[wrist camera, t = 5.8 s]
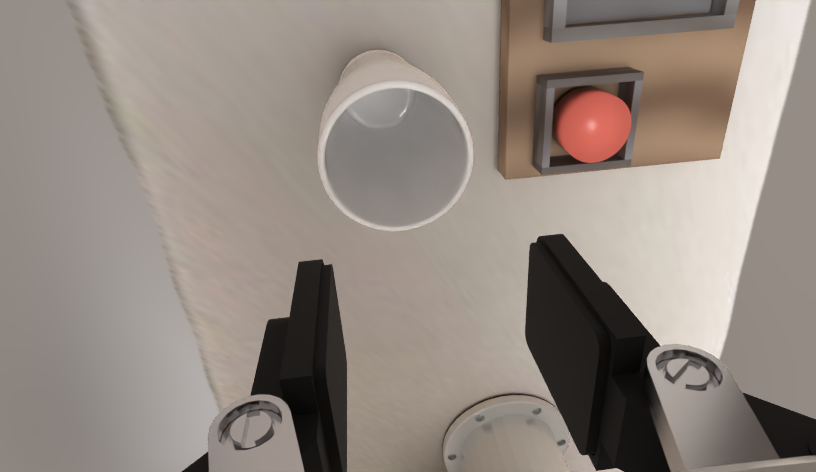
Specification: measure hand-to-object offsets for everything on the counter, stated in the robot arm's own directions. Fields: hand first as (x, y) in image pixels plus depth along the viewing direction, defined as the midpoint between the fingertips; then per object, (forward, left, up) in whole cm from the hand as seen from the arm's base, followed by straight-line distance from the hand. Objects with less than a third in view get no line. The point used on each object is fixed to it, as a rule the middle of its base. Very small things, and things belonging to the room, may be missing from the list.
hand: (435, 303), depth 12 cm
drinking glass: (0, 0, -26) cm, 26 cm away
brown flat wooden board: (+12, -12, -25) cm, 31 cm away
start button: (+4, -13, -23) cm, 27 cm away
